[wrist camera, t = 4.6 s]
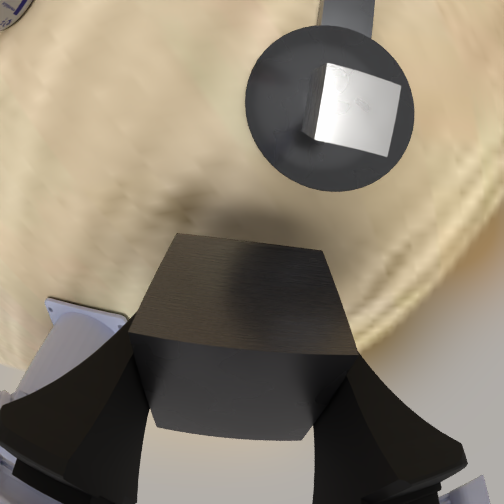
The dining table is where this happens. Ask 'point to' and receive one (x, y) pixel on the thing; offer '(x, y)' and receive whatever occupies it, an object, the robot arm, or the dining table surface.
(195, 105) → the dining table surface
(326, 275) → the dark grey brushed cube
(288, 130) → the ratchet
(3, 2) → the energy drink
